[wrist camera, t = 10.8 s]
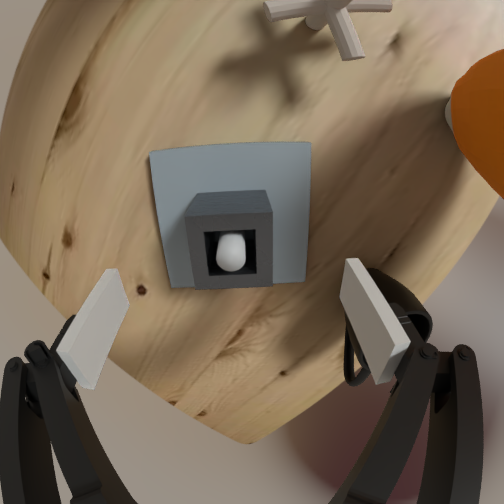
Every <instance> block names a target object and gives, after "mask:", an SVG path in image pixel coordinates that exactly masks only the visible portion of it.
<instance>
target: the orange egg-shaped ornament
mask: <svg viewBox="0 0 504 504" xmlns="http://www.w3.org/2000/svg"><path fill="white" fill-rule="evenodd" d="M445 118H446V121H447V123H448V125H449V126H450V128H451V130H452V132H453V134H454V137H455V139H456V142H457V144H458V147H459V149H460V150H461V152H462V153H463V154H464V155H465V157H466V158H467V159H468V160H469V162H470V163H471V164H472V166H473V167H474V168H475V170H476V171H477V172H478V173H479V174H480V175H481V176H482V177H483V178H484V179H485V180H486V182H487V183H488V184H489V185H490V186H491V187H492V188H493V189H494V190H495V191H496V192H497V193H498V194H499V195H500V196H501V197H502V198H503V199H504V49H502V50H499V51H496V52H494V53H492V54H490V55H488V56H486V57H485V58H483V59H481V60H479V61H478V62H477V63H475V64H474V65H473V66H471V67H470V69H469V70H468V71H467V72H466V73H465V75H463V76H462V77H461V78H460V79H459V80H458V81H457V82H456V84H455V86H454V88H453V90H452V93H451V97H450V100H449V102H448V103H447V105H446V108H445Z"/></svg>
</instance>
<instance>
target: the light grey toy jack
mask: <svg viewBox="0 0 504 504" xmlns="http://www.w3.org/2000/svg"><path fill="white" fill-rule="evenodd" d="M263 7H264V11H265V14H266V17H267V19H268V20H269V21H270V22H274V21H279V20H285V19H291V18H297V17H304V16H307V17H306V19H305V22H306V24H307V26H308V27H310V28H311V29H314V30H320V29H322V28H323V27H324V26H326V25H327V24H328V25H329V27H330V30H331V32H332V34H333V37H334V40H335V42H336V45H337V47H338V50H339V53H340V56H341V58H342V61H350V60H356V59H361V58H364V57H365V54H364V51H363V48H362V46H361V43H360V40H359V38H358V35H357V32H356V30H355V27H354V25H353V23H352V20H351V18H350V16H349V13H348V12H390V11H391V10H392V2H391V0H271V1H265V2H263Z"/></svg>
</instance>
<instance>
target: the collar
mask: <svg viewBox="0 0 504 504" xmlns="http://www.w3.org/2000/svg"><path fill="white" fill-rule="evenodd" d="M184 217H185V225H186V232H187V239H188V246H189V253H190V260H191V266H192V272H193V278H194V284H195V290H196V289H226V288H249V287H269V286H273V211H272V208H271V205H270V202H269V199H268V196H267V193H266V190H241V191H222V192H206V193H197V194H196V196H195V198H194V200H193V202H192V203H191V205H190V207H189V209H188V211H187V213H186V215H185V216H184ZM250 229H253V240H245V255H246V260H245V263H244V265H243V266H242V267H241V268H240V269H239V270H236V271H226V270H224V269H222V268H221V267H220V266H219V265H218V263H217V261H216V256H217V249H218V243H219V241H217V242H215V236H214V231H228V230H250Z"/></svg>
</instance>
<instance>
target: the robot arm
mask: <svg viewBox="0 0 504 504" xmlns="http://www.w3.org/2000/svg"><path fill="white" fill-rule="evenodd" d="M339 298H340V300H341V302H342V305H343V307H344V309H345V311H346V313H347V316H348V318H349V320H350V323H351V325H352V327H353V330H354V332H355V334H356V337H357V339H358V341H359V344H360V346H361V348H362V351H363V353H364V356H365V358H366V361H367V363H368V366H369V368H370V371H371V373H372V376H373V378H374V381H375V384H381V383H385V382H389V381H391V379H392V377H393V375H394V374H395V376H396V378H397V381H396V383H395V385H394V386H393V388H392V390H391V391H390V393H391V395H390V397H389V399H388V402H387V404H386V406H385V408H384V411H383V413H382V415H381V417H380V419H379V421H378V423H377V425H376V427H375V429H374V431H373V433H372V435H371V437H370V439H369V440H368V442H367V444H366V446H365V448H364V450H363V451H362V453H361V455H360V456H359V458H358V460H357V462H356V463H355V465H354V467H353V468H352V470H351V471H350V473H349V475H348V476H347V478H346V479H345V481H344V482H343V484H342V485H341V487H340V488H339V490H338V491H337V493H336V494H335V496H334V497H333V498H332V500H331V501H330V502H329V503H328V504H386V502H387V499H388V498H389V496H390V494H391V492H392V490H393V489H394V487H395V485H396V483H397V481H398V479H399V477H400V475H401V473H402V470H403V468H404V466H405V464H406V462H407V459H408V457H409V455H410V452H411V450H412V448H413V445H414V443H415V440H416V437H417V435H418V432H419V429H420V427H421V424H422V421H423V418H424V415H425V412H426V409H427V405H428V402H429V399H430V419H429V432H428V442H427V451H426V458H425V466H424V471H423V477H422V483H421V487H420V492H419V496H418V501H417V504H479V497H480V489H481V481H482V468H483V412H482V399H481V389H480V381H479V374H478V368H477V361H476V356H475V353H474V351H473V350H472V349H471V348H470V347H468V346H467V345H463V344H460V345H457V346H456V347H455V348H454V350H453V351H452V352H440V351H438V349H437V348H436V347H435V346H433V345H431V344H430V343H424V341H423V339H422V338H421V336H420V334H419V333H418V331H417V330H416V328H415V326H414V325H413V323H411V320H410V318H409V317H408V315H407V314H406V312H405V311H404V309H403V308H402V307H401V306H399V305H398V304H397V303H389V304H388V303H387V301H386V300H385V298H384V296H383V295H382V293H381V292H380V290H379V289H378V287H377V285H376V284H375V282H374V281H373V279H372V278H371V276H370V275H369V273H368V272H367V270H366V269H365V267H364V266H363V264H362V263H361V261H360V260H359V259H358V258H348V259H346V261H345V267H344V273H343V279H342V285H341V291H340V296H339ZM129 306H130V305H129V302H128V299H127V297H126V294H125V291H124V288H123V285H122V282H121V278H120V275H119V272H118V269H106V271H105V272H104V273H103V275H102V276H101V278H100V279H99V281H98V282H97V284H96V285H95V287H94V288H93V290H92V291H91V293H90V294H89V296H88V297H87V299H86V301H85V302H84V304H83V305H82V307H81V308H80V310H79V312H78V313H77V315H72V316H71V317H70V318H69V319H68V320H67V321H66V323H65V324H64V326H63V329H61V331H60V334H59V335H58V336H57V338H56V339H55V341H54V343H53V345H52V346H51V348H50V350H49V349H48V348H47V346H46V345H45V343H44V342H43V341H40V340H37V341H33V342H32V343H30V344H29V345H28V346H27V347H26V349H25V352H24V356H25V357H26V358H27V360H28V361H29V362H30V363H24V362H23V361H22V359H21V358H19V357H14V358H11V359H10V360H9V361H8V362H7V364H6V366H5V369H4V375H3V382H2V390H1V398H0V481H1V490H2V497H3V503H4V504H61V500H60V496H59V491H58V487H57V482H56V477H55V471H54V465H53V458H52V450H51V444H52V446H53V449H54V452H55V455H56V458H57V460H58V463H59V465H60V468H61V470H62V473H63V475H64V477H65V479H66V482H67V484H68V486H69V488H70V491H71V493H72V496H73V498H72V499H71V500H70V504H138V503H137V502H136V501H135V500H134V499H133V498H132V496H131V495H130V493H129V492H128V490H127V489H126V487H125V486H124V484H123V482H122V481H121V479H120V478H119V476H118V474H117V473H116V471H115V469H114V468H113V466H112V464H111V462H110V460H109V458H108V457H107V455H106V453H105V451H104V449H103V447H102V445H101V443H100V441H99V439H98V437H97V435H96V433H95V431H94V429H93V426H92V424H91V422H90V420H89V418H88V415H87V413H86V411H85V408H84V406H83V403H82V401H81V398H80V395H79V393H78V390H77V389H76V387H75V384H76V381H77V382H78V383H79V384H80V385H81V387H82V388H86V389H91V390H95V387H96V384H97V381H98V379H99V376H100V374H101V371H102V368H103V366H104V363H105V361H106V358H107V356H108V353H109V351H110V349H111V346H112V344H113V341H114V339H115V337H116V334H117V332H118V330H119V328H120V325H121V323H122V321H123V319H124V316H125V314H126V312H127V310H128V308H129ZM25 397H26V400H25ZM50 441H51V442H50Z"/></svg>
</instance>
